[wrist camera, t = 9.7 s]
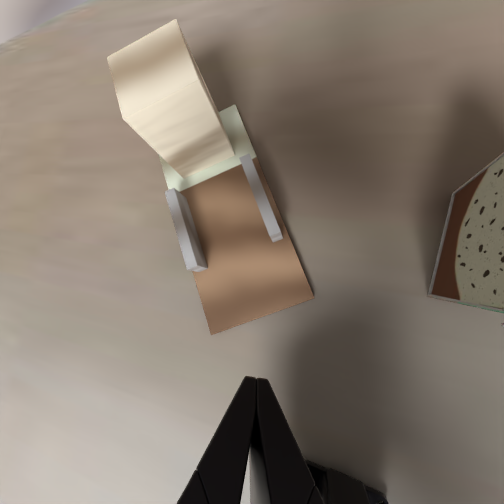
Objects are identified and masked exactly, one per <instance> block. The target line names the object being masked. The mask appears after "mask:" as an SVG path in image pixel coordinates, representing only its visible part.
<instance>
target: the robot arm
mask: <svg viewBox="0 0 504 504" xmlns="http://www.w3.org/2000/svg"><path fill="white" fill-rule="evenodd" d="M248 455H249V463H250V502H251V504H380V503H378V501H379V500H382V501H383V503H381V504H388V501H387V499H386V497H385V495H384V494H383V493H381V492H379V491H377V490H374V489H372V488H370V487H368V486H365V485H363V483H362V482H361V481H358V480H356V479H354V478H351V477H349V476H347V475H344V474H342V473H340V472H337V471H335V470H333V469H326V468H324V467H321V466H319V465H317V464H314V463H312V462H310V461H307V460H304V458H303V456H302V453H301V451H300V449H299V447H298V445H297V442H296V440H295V438H294V436H293V434H292V431H291V429H290V427H289V425H288V423H287V420H286V418H285V416H284V414H283V412H282V409H281V407H280V405H279V403H278V401H277V398H276V396H275V394H274V392H273V390H272V387H271V385H270V383H269V381H268V380H267V379H264V378H257V379H256V378H255V377H249V376H245V377H244V379H243V381H242V383H241V385H240V387H239V388H238V390H237V392H236V394H235V396H234V398H233V400H232V402H231V404H230V405H229V407H228V409H227V411H226V413H225V415H224V417H223V419H222V421H221V422H220V424H219V426H218V428H217V430H216V432H215V434H214V436H213V438H212V439H211V441H210V443H209V445H208V447H207V449H206V451H205V453H204V455H203V456H202V458H201V460H200V462H199V464H198V466H197V468H196V470H195V471H194V473H193V475H192V477H191V479H190V481H189V482H188V484H187V486H186V488H185V490H184V491H183V493H182V495H181V497H180V498H179V500H178V502H177V504H240V501H241V495H242V490H243V484H244V478H245V472H246V466H247V461H248ZM308 468H309V469H308Z"/></svg>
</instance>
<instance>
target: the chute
mask: <svg viewBox="0 0 504 504" xmlns="http://www.w3.org/2000/svg"><path fill="white" fill-rule="evenodd" d="M218 113H219V115H220V118H221V120H222V123H223V126H224V128H225V131H226V133H227V136H228V139H229V141H230V144H231V146H232V149H233V152H234V154H235V156H233V157H230V158H228V159H226V160H224V161H222V162H220V163H217V164H215V165H213V166H211V167H209V168H206V169H204V170H202V171H200V172H198V173H196V174H193V175H191V176H189V177H187V178H185V179H184V178H183V177H182V176H180V175H179V174H178V173H177V172H176V171H175V170H174V169H173V168H172V167H171V166H170V165H169V164H168V163H167V162H166V161H165V160H164V159H163V158H162V157H161V156H160V155H159V154H158V155H159V158H160V162H161V165H162V168H163V172H164V175H165V179H166V182H167V185H168V189H169V190H168V191H165V195H166V198H167V202H168V205H169V208H170V212H171V215H172V219H173V222H174V226H175V229H176V233H177V236H178V240H179V243H180V247H181V250H182V254H183V257H184V261H185V264H186V268H187V270H191V271H193V274H194V278H195V281H196V285H197V288H198V292H199V295H200V298H201V302H202V305H203V309H204V312H205V316H206V319H207V322H208V326H209V329H210V333H211V335H213V334H216V333H218V332H221V331H224V330H227V329H230V328H232V327H235V326H238V325H241V324H244V323H246V322H249V321H252V320H255V319H258V318H260V317H263V316H266V315H269V314H272V313H274V312H277V311H280V310H283V309H285V308H288V307H291V306H294V305H297V304H299V303H302V302H305V301H308V300H311V299H313V298H314V296H313V293H312V291H311V288H310V286H309V283H308V281H307V279H306V276H305V274H304V271H303V269H302V266H301V264H300V261H299V259H298V257H297V254H296V252H295V249H294V247H293V244H292V242H291V240H290V237H289V235H288V232H287V230H286V227H285V225H284V222H283V220H282V218H281V215H280V213H279V210H278V208H277V205H276V203H275V200H274V198H273V196H272V193H271V191H270V188H269V186H268V183H267V181H266V178H265V176H264V174H263V171H262V169H261V166H260V164H259V161H258V159H257V157H256V154H255V152H254V149H253V147H252V144H251V142H250V139H249V137H248V135H247V132H246V130H245V127H244V125H243V122H242V120H241V117H240V115H239V113H238V110H237V108H236V105H235V104H234V105H232V106H230V107H228V108H226V109H224V110H222V111H220V112H218Z"/></svg>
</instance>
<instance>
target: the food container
mask: <svg viewBox="0 0 504 504" xmlns="http://www.w3.org/2000/svg"><path fill="white" fill-rule="evenodd" d="M427 296H428V297H432V298H437V299H441V300H446V301H450V302H455V303H459V304H464V305H469V306H473V307H478V308H482V309H487V310H491V311H496V312H500V313H504V152H503V153H502V154H500V155H499V156H498V157H497V158H495V159H494V160H493V161H492V162H490V163H489V164H488V165H487V166H485V167H484V168H483V169H482V170H480V171H479V172H478V173H477V174H475V175H474V176H473V177H472V178H470V179H469V180H468V181H467V182H465V183H464V184H463V185H462V186H460V187H459V188H458V189H457V190H455V191H454V192H453V193H452V196H451V200H450V204H449V209H448V213H447V217H446V221H445V225H444V229H443V233H442V237H441V242H440V246H439V250H438V254H437V258H436V262H435V266H434V270H433V275H432V279H431V283H430V287H429V291H428V295H427ZM502 327H504V323H502Z"/></svg>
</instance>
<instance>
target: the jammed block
mask: <svg viewBox="0 0 504 504" xmlns="http://www.w3.org/2000/svg"><path fill="white" fill-rule="evenodd" d="M107 60H108V64H109V68H110V71H111V75H112V79H113V83H114V87H115V91H116V94H117V98H118V102H119V106H120V110H121V114H122V118H123V119H124V120H125V121H126V122H127V123H128V124H129V125H130V126H131V127H132V128H133V129H134V130H135V131H136V132H137V133H138V134H139V135H140V136H141V137H142V138H143V139H144V140H145V141H146V142H147V143H148V144H149V145H150V146H151V147H152V148H153V149H154V150H155V151H156V152H157V153H158V154H159V155H160V156H161V157H162V158H163V159H164V160H165V161H166V162H167V163H168V164H169V165H170V166H171V167H172V168H173V169H174V170H175V171H176V172H177V173H178V174H179V175H180V176H182V177H183V178H184V179H185V178H187V177H189V176H191V175H193V174H196V173H198V172H200V171H202V170H204V169H206V168H209V167H211V166H213V165H215V164H217V163H220V162H222V161H224V160H226V159H228V158H230V157H233V156H235V154H234V152H233V149H232V146H231V144H230V141H229V139H228V136H227V133H226V131H225V128H224V126H223V123H222V120H221V118H220V115H219V113H218V110H217V108H216V106H215V103H214V101H213V99H212V97H211V95H210V93H209V90H208V88H207V86H206V84H205V82H204V79H203V77H202V75H201V73H200V71H199V68H198V66H197V64H196V62H195V60H194V57H193V55H192V53H191V51H190V49H189V46H188V44H187V42H186V40H185V38H184V36H183V33H182V31H181V29H180V27H179V25H178V22H177V20H176V19H175V20H173V21H171V22H169V23H168V24H166V25H164V26H162V27H160V28H159V29H157V30H155V31H153V32H152V33H150V34H148V35H146V36H144V37H143V38H141V39H139V40H137V41H135V42H134V43H132V44H130V45H128V46H126V47H125V48H123V49H121V50H119V51H118V52H116V53H114V54H112V55H110V56H109V57H107Z"/></svg>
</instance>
